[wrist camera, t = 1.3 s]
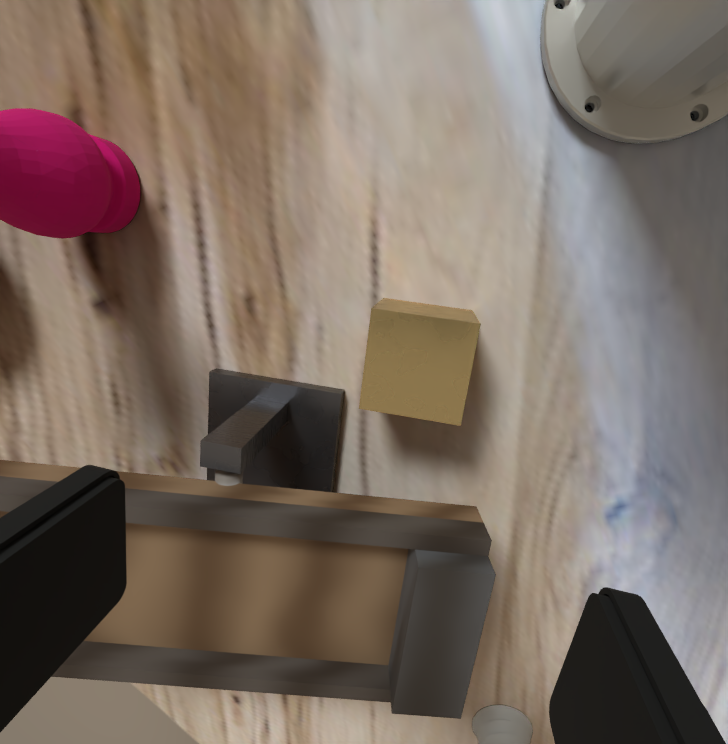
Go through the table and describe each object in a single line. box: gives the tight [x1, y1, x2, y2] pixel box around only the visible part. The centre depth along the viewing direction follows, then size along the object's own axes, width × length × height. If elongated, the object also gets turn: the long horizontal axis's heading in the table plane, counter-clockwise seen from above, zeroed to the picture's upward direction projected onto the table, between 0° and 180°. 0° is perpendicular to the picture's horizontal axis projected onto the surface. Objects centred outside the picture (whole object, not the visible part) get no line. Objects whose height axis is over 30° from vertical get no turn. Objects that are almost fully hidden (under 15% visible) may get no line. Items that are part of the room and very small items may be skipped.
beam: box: [0, 460, 496, 719], centre depth 26 cm, size 30×13×6 cm, turn 83°
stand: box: [200, 369, 344, 493], centre depth 31 cm, size 10×20×9 cm, turn 173°
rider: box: [359, 298, 480, 426], centre depth 28 cm, size 6×6×6 cm
